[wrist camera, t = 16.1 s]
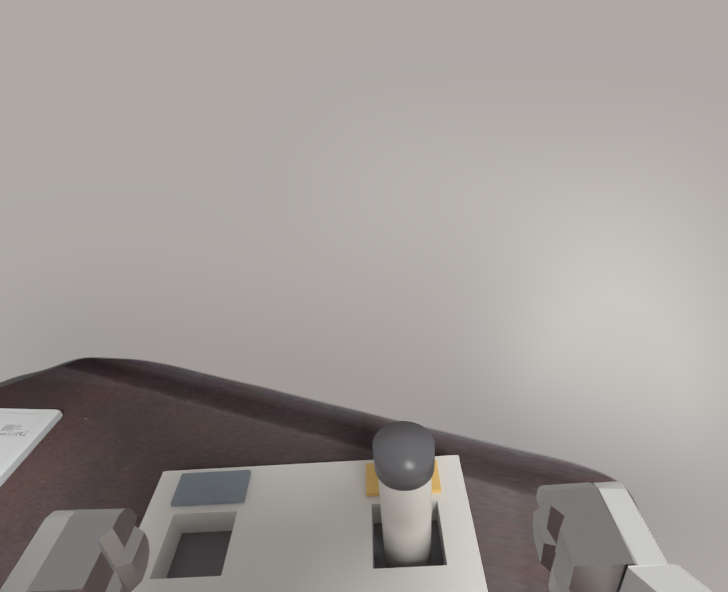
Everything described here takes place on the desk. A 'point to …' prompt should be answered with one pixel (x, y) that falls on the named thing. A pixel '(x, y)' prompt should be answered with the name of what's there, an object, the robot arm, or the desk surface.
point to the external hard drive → (22, 435)
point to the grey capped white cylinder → (405, 491)
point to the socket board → (300, 532)
